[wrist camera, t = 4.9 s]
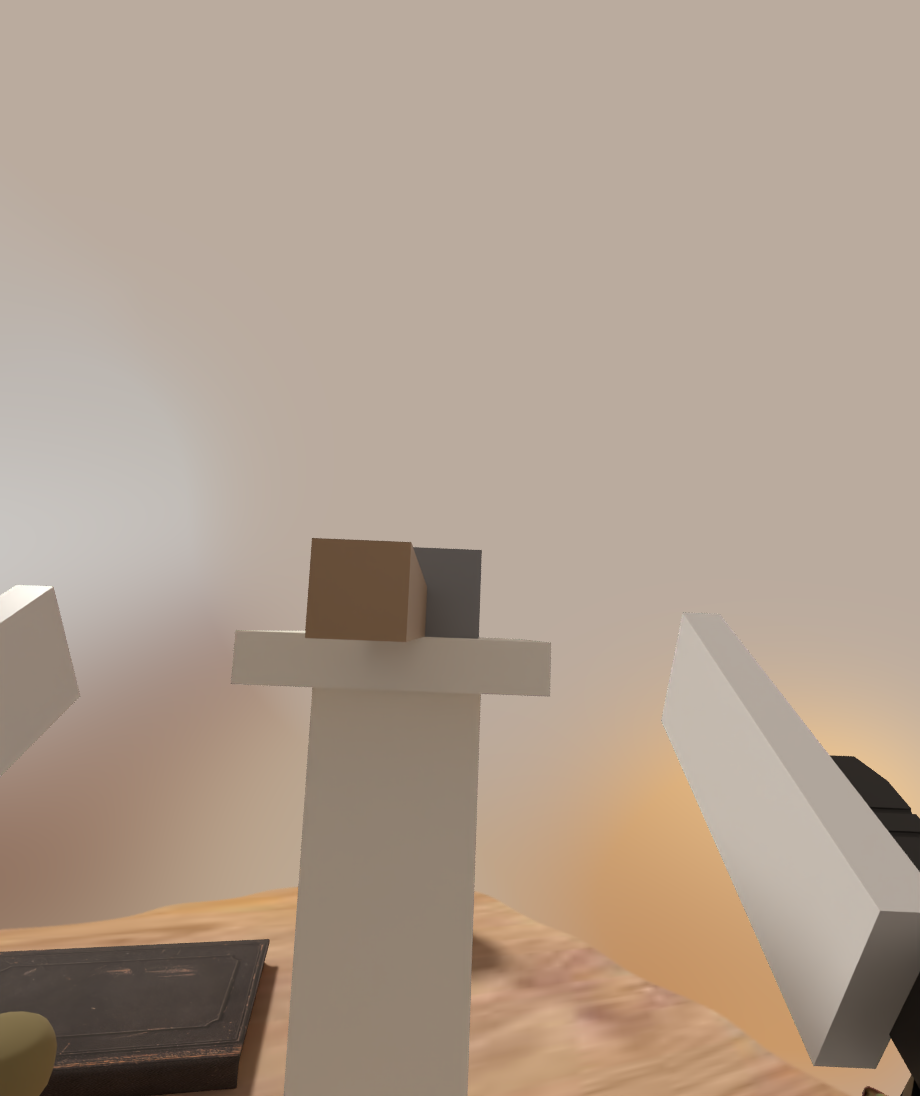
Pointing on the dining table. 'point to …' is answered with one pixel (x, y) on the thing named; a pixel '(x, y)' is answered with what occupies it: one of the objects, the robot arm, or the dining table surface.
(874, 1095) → the dragon fruit
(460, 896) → the stand
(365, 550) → the brown and grey bar
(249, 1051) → the dining table surface
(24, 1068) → the cork
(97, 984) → the hardcover book
